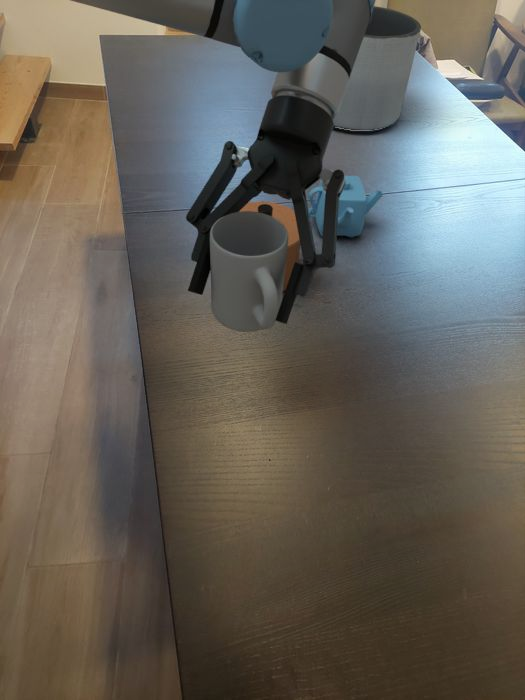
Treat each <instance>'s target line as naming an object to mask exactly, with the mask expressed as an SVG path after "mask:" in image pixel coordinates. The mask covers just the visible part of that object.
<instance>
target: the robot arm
mask: <svg viewBox="0 0 525 700" xmlns="http://www.w3.org/2000/svg"><path fill="white" fill-rule="evenodd" d="M70 1H71V2H75V3H77V4H82V5H87V6H89V7H92V8H97V9H100V10H105V11H108V12H112V13H114V14H119V15H122V16H126V17H129V18H134V19H138V20H141V21H145V22H148V23H152V24H155V25H158V26H159V25H160V26H163V27H167V28H169V29H170V28H171V29H173V30H178V31H181V32H184V33H188V34H191V35H196V36H199V37H203V38H208V39H211V40H213V41H217V42H220V43H223V44H226V45H230V46H234V47H238V48H240V49H241V51H242V52H243V53H244V55H246V57H248V58H249V59H250V60H251V61H252V62H254V63H255V64H256V65H258V66H259V67H260V68H262V69H264V70H266V71H269V72H274V73H276V75H275V78H274V82H273V84H272V88H271V91H270V95H271V98H270V99H269V100H268V101H267V104H266V106H265V110H264V113H263V116H262V119H261V122H260V126H259V129H258V132H257V137H256V139H255V141H254V142H253V143H252V144H251V145H250V146H249V147H245V146H240V145H236V144H235V143H234V142H233V141H232V140H228V141H226V142H225V143H224V144H223V148H222V153H221V155H220V156H221V157H220V161H219V162H218V163H217V165H216V167H215V169H214V170H213V172H212V173H211V175H210V177H209V178H208V180H207V181H206V183H205V185H204V186H203V188H202V190H201V191H200V192H199V194H198V195H197V198H196V199H195V200H194V202H193V203H192V206H191V207H190V209H189V210H188V211H187V214H186V215H185V219H186V221H187V222H188V223H189V224H190V225H192V226H193V227H194V228H195V229H196V230H197V236H196V239H195V242H194V246H193V249H192V252H191V256H190V257H191V261H193V262H195V263H196V264H195V267H194V270H193V273H192V276H191V279H190V282H189V285H188V289H187V292H190V293H194V294H197V295H200V296H203V294H204V291H205V289H206V285H207V283H208V279H209V275H210V274H211V267H210V231H211V228H212V226H213V224H214V223H215V222H216V221H217V220H218V219H220V218H221V217H223V216H225V215H228V214H231V213H235V212H239V211H240V210H241V209H242V208H243V207H244V206H245V205H246V204H247V203H250V201H252V199H254V198H256V197H258V196H259V195H260V194H261V193H262V192H263V193H264V194H267V195H273V196H275V195H277V196H279V197H281V198H282V199H285V200H288V201H290V200H291V203H292V207H293V210H294V212H295V217H296V223H297V228H298V234H299V239H300V251H301V257H302V263H300V262H298V263H297V262H295V264H294V267H293V269H292V272H291V275H290V278H289V281H288V284H287V287H286V290H284V294H283V295H282V302H281V305H280V308H279V311H278V314H277V317H276V320H275V322H278V323H281V324H286V325H287V324H288V321H289V319H290V316H291V313H292V310H293V307H294V304H295V301H296V297H297V296H299V297H302V298H304V297H305V296H306V295H307V294H308V291H309V288H310V285H311V282H312V280H313V276H314V273H315V272H316V271H317V270H318V269H321V268H324V269H325V268H328V269H331V268H333V267H334V266H335V264H336V255H337V239H338V235H337V224H338V208H339V198H340V196H341V193H342V191H343V189H344V186H345V183H346V181H345V177H344V175H345V173H344V172H343V170H342V169H335V170H331V169H329V168H326V167H324V166H323V159H324V156H325V153H326V151H327V149H328V148H327V147H328V145H329V142H330V139H331V135H332V132H333V129H334V128H333V127H334V123H333V119H335V118H336V116H337V115H338V112H339V109H340V106H341V103H342V100H343V97H344V94H345V91H346V88H347V85H348V82H349V78H350V75H351V72H352V69H353V66H354V64H355V61H356V58H357V55H358V52H359V49H360V46H361V43H362V40H363V37H364V35H365V32H366V29H367V27H368V25H369V24H370V21H371V17H372V12H373V8H374V6H375V4H376V1H377V0H70ZM246 161H248V164H249V166H250V170H249V171H248V172H247V173H246V174H245V176H243V177H242V178H241V181H240V183H239V184H238V185H237V186H236V187H235V188H234V189H232V191H231V192H230V193H229V194H228V195H227V196H226V197H225V198H224V199H223V200H222V201H221V202H220V203H219V204H218V202H219V201H220V199H221V197H222V196H223V194H224V193H225V191H226V189H227V188H228V186H229V185H230V184H231V181H232V180H233V178H234V176H235V174H236V172H237V170H238V168H241V167H242V166H243V164H244V163H245V162H246ZM319 180H322V181H323V182H322V186H323V189H324V191H325V192H326V194H325V207H324V224H323V236H322V240H321V241H322V243H321V253H318V254H317V250H316V246H315V241H314V236H313V235H314V234H313V231H312V230H313V229H312V225H311V217H310V216H309V212H308V210H309V205H308V200H307V199H308V198H307V194H306V190H308V189H309V188H310V187H311V186H313V185H314V184H316V183H317V182H318V181H319ZM217 204H218V205H217ZM216 205H217V206H216Z"/></svg>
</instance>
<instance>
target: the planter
mask: <svg viewBox="0 0 525 700" xmlns="http://www.w3.org/2000/svg"><path fill="white" fill-rule="evenodd" d="M421 30H422V25H421V23H420V22H419V21H418V20H417V19H416V18H414V17H413V16H411V15H408V14H406V13H404V12H401V11H399V10H395V9H392V8H386V7H382V6H377V5H374V8H373V12H372V17H371V21H370V24H369V25H368V27H367V29H366V32H365V35H364V37H363V40H362V43H361V46H360V49H359V52H358V55H357V58H356V61H355V64H354V66H353V69H352V72H351V75H350V78H349V82H348V85H347V88H346V91H345V94H344V97H343V100H342V103H341V106H340V109H339V112H338V115H337V116H336V118H335V119H333V123H334V127H333V129H335V130H338V131H343V132H349V133H372V132H377V131H381V130H383V129H380V128H384V127H387V126H389V125H391V124H392V125H394V124H395V123H396V122H397V121H398V120H399V118H400V115H401V113H402V109H403V105H404V100H405V97H406V93H407V88H408V84H409V81H410V75H411V71H412V67H413V63H414V60H415V55H416V51H417V46H418V44H419V38H420V35H421V32H422V31H421ZM397 119H398V120H397ZM396 120H397V121H396ZM395 121H396V122H395ZM394 122H395V123H394ZM393 123H394V124H393ZM392 125H391V126H392ZM335 127H340V128H344V129H351V130H375V129H380V130H375V131H350V130H344V129H339V128H335ZM389 127H390V126H389ZM387 128H388V127H387ZM384 129H385V128H384Z"/></svg>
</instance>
